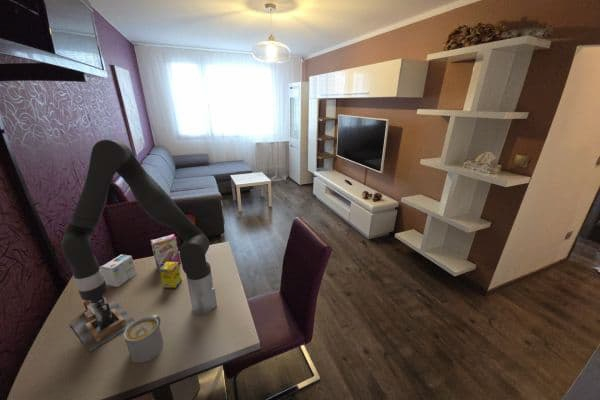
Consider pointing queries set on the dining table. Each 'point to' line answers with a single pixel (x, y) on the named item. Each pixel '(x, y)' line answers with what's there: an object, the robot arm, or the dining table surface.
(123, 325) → the dock
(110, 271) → the light bulb box
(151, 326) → the coffee mug
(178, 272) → the supplement box
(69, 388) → the dining table surface
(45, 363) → the dining table surface
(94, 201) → the robot arm
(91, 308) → the pin
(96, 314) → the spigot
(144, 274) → the dining table surface
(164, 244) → the candy bar box
